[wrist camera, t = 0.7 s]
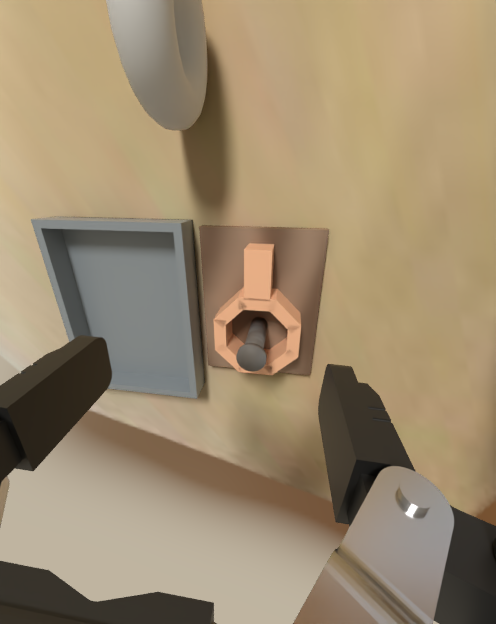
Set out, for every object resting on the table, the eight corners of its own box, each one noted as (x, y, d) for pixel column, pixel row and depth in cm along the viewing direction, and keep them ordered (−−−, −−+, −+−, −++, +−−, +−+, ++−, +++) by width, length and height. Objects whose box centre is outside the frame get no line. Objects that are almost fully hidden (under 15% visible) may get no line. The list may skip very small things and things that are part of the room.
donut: (214, 142, 23) (165, 111, 14) (176, 141, 24) (105, 110, 14) (213, -23, 19) (141, -217, 10) (166, -21, 19) (58, -205, 10)
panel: (327, 228, 25) (341, 242, 18) (309, 369, 31) (314, 419, 24) (202, 225, 26) (171, 237, 19) (210, 360, 33) (189, 404, 26)
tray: (192, 219, 26) (180, 223, 23) (204, 382, 34) (197, 398, 32) (55, 216, 28) (30, 219, 25) (98, 371, 36) (83, 385, 34)
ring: (307, 245, 24) (308, 252, 22) (295, 360, 30) (296, 377, 27) (218, 242, 26) (209, 248, 23) (222, 354, 31) (216, 369, 28)
